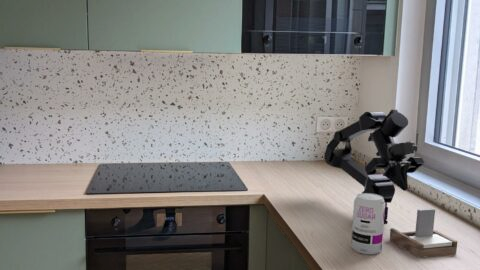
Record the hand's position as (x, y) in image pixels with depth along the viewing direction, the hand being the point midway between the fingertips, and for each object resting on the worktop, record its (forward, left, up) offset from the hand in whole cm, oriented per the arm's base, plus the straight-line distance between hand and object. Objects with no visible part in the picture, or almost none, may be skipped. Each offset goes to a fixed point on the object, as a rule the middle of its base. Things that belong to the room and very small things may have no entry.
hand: (405, 189), depth 157 cm
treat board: (+1, -10, -14) cm, 17 cm away
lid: (+2, -13, -11) cm, 18 cm away
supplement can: (-16, -12, -14) cm, 24 cm away
